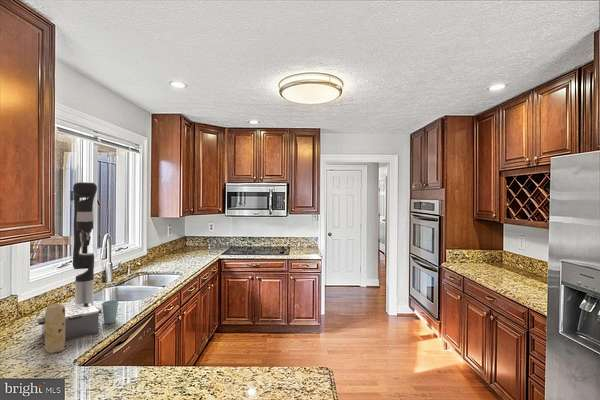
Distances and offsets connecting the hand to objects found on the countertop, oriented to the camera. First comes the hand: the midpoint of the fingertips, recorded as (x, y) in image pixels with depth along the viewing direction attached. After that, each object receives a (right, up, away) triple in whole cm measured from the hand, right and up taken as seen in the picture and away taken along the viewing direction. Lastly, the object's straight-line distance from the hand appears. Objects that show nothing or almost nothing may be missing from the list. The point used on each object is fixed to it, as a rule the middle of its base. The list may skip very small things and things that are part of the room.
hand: (84, 253), depth 184 cm
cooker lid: (+2, -27, -14) cm, 30 cm away
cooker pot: (+1, -37, -13) cm, 39 cm away
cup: (+11, -37, +4) cm, 39 cm away
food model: (+7, -37, -32) cm, 50 cm away
